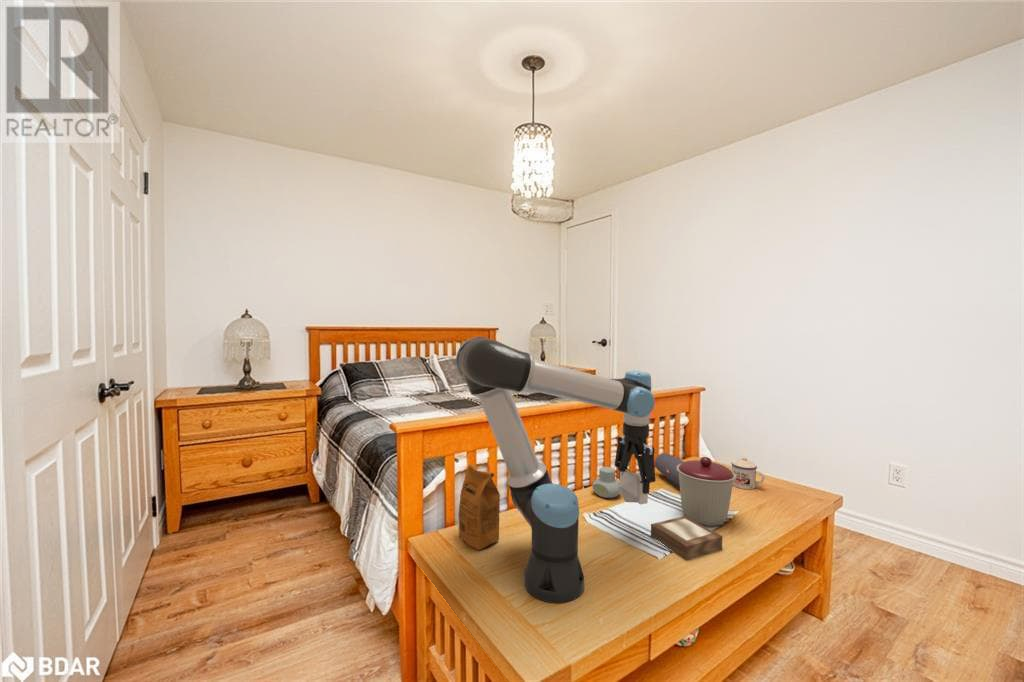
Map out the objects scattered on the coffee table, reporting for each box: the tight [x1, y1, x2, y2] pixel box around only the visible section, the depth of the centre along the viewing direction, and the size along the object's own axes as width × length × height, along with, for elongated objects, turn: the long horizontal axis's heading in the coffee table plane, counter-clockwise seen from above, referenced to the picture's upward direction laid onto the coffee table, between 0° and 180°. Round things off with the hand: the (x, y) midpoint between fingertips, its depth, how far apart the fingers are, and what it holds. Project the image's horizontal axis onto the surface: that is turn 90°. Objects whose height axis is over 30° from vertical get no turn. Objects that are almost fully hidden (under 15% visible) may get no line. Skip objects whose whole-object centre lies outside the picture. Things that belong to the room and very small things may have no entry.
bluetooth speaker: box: [654, 452, 684, 489], centre depth 173 cm, size 23×9×10 cm, turn 10°
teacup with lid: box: [730, 456, 765, 491], centre depth 171 cm, size 12×9×12 cm
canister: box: [677, 456, 736, 527], centre depth 143 cm, size 18×18×21 cm
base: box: [650, 515, 723, 561], centre depth 128 cm, size 14×14×4 cm
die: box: [618, 472, 651, 504], centre depth 129 cm, size 8×9×10 cm
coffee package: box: [457, 463, 501, 551], centre depth 129 cm, size 10×12×22 cm
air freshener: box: [591, 466, 621, 499], centre depth 162 cm, size 11×8×10 cm
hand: (632, 497), depth 129 cm, fingers closed on die, 8 cm apart
